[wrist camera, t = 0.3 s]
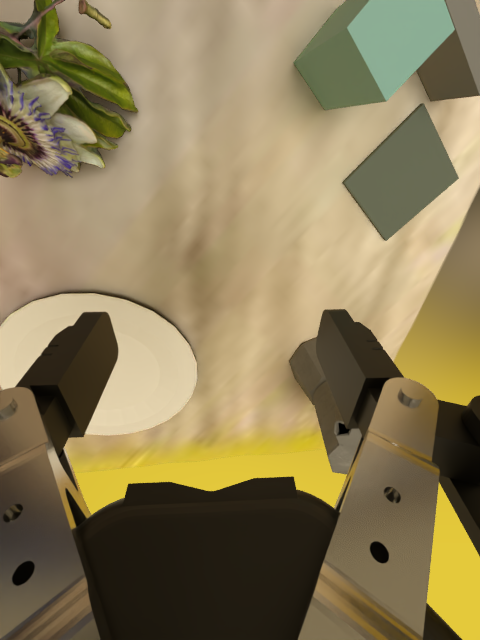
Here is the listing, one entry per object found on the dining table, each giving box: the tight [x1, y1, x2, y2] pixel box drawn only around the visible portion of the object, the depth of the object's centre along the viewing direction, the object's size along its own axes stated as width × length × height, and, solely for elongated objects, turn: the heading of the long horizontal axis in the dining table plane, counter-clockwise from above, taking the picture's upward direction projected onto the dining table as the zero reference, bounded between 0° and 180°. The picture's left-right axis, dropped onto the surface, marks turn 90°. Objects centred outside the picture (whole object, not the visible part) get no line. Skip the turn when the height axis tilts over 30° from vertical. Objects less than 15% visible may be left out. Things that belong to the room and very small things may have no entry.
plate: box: [0, 293, 197, 435], centre depth 38 cm, size 25×25×2 cm
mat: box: [343, 104, 458, 241], centre depth 30 cm, size 9×9×1 cm
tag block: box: [294, 0, 455, 110], centre depth 20 cm, size 4×5×10 cm
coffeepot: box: [290, 337, 362, 474], centre depth 36 cm, size 15×9×18 cm, turn 41°
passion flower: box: [0, 0, 138, 178], centre depth 20 cm, size 11×11×12 cm
